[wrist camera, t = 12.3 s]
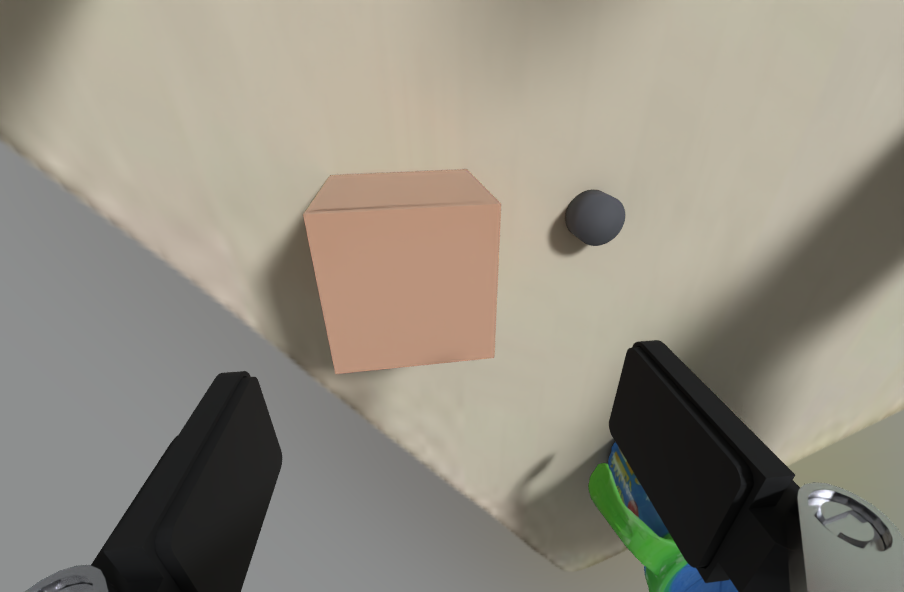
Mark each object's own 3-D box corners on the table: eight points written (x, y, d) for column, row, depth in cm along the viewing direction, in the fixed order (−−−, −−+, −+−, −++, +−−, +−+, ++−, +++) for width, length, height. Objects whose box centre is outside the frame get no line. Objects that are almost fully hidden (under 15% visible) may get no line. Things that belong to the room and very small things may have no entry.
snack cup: (539, 468, 33) (595, 609, 24) (616, 377, 29) (717, 504, 20) (665, 502, 38) (750, 628, 29) (745, 428, 34) (870, 547, 25)
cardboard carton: (467, 169, 20) (501, 203, 14) (466, 288, 24) (494, 357, 17) (330, 175, 19) (303, 214, 13) (349, 297, 23) (335, 374, 17)
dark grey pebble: (619, 202, 23) (635, 210, 21) (590, 243, 24) (603, 253, 22) (584, 180, 22) (597, 186, 20) (555, 223, 23) (566, 232, 21)
